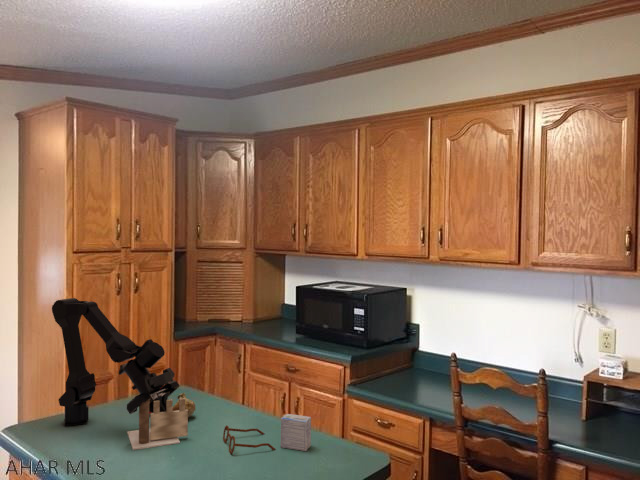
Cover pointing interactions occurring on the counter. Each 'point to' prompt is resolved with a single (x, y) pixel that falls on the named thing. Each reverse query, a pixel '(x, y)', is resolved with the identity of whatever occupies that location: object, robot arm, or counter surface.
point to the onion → (188, 405)
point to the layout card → (152, 443)
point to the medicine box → (296, 432)
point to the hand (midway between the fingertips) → (169, 419)
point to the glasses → (242, 444)
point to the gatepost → (144, 422)
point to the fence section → (169, 421)
